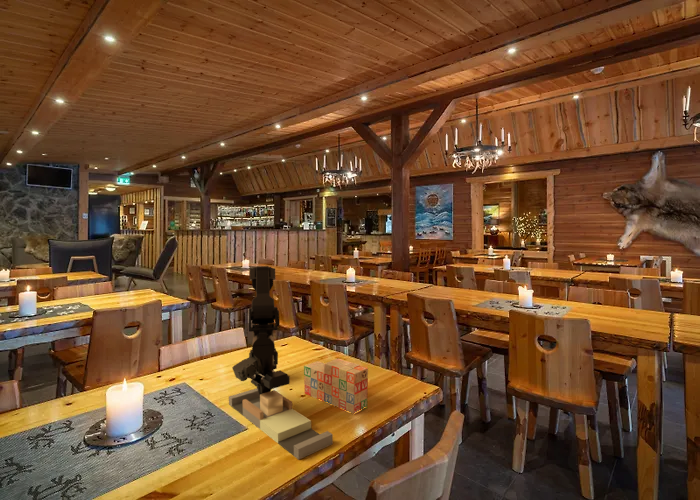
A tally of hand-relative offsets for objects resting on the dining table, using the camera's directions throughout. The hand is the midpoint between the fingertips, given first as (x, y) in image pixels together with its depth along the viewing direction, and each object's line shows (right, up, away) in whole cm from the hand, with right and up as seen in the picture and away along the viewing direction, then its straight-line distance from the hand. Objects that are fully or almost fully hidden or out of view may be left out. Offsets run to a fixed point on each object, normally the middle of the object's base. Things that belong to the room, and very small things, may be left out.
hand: (263, 401), depth 113 cm
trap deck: (+4, -4, -5) cm, 7 cm away
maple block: (+3, -1, -3) cm, 4 cm away
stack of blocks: (+20, -4, +9) cm, 22 cm away
